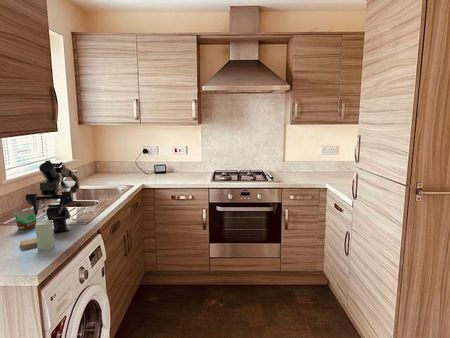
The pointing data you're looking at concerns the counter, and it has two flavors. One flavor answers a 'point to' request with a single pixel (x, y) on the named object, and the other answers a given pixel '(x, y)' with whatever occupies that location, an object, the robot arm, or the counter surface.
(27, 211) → the food container
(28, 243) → the tan slab
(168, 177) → the counter surface
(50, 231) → the sage block
